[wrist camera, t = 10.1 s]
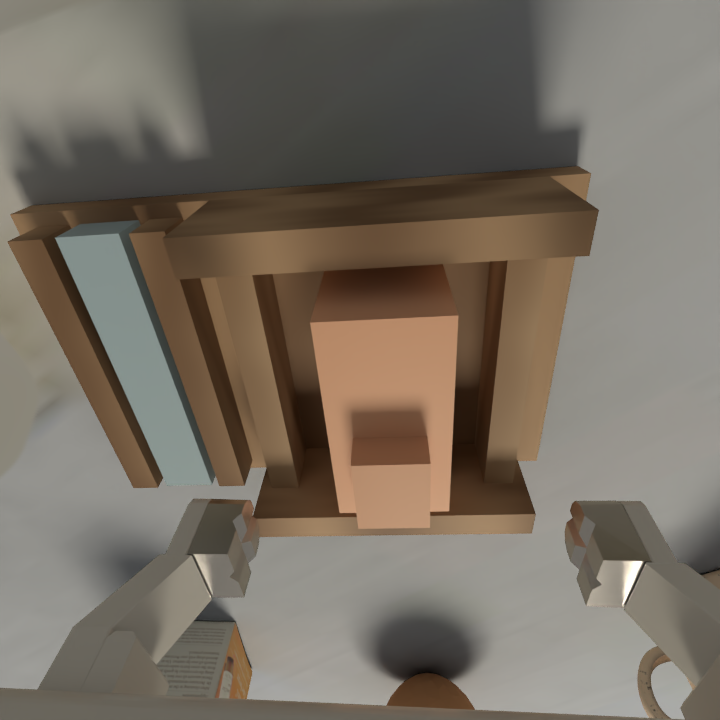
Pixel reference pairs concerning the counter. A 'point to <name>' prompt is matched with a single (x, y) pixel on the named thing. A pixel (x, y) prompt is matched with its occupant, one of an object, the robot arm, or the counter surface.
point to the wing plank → (137, 346)
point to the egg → (430, 693)
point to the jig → (293, 330)
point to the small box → (207, 662)
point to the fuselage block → (388, 390)
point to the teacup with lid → (657, 658)
